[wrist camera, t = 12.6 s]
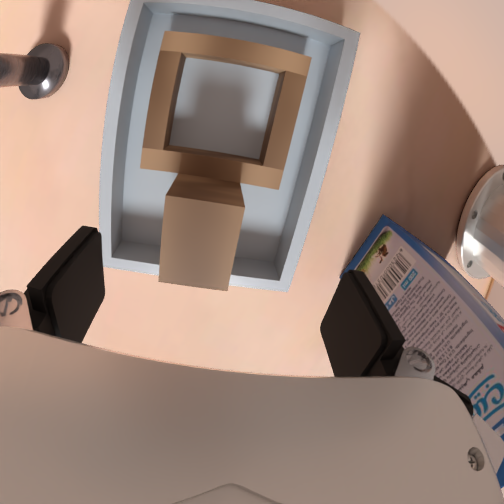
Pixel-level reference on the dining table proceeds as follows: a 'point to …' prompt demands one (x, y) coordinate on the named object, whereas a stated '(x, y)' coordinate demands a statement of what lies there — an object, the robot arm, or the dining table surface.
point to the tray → (221, 130)
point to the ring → (214, 158)
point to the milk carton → (439, 317)
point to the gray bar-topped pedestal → (35, 70)
